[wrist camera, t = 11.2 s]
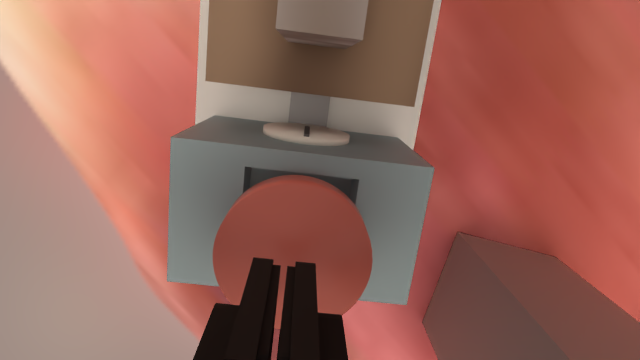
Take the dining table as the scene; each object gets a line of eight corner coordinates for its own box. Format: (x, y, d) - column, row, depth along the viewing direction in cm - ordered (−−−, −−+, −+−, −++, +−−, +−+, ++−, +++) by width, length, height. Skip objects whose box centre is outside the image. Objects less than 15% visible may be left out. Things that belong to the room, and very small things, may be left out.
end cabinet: (398, 130, 22) (436, 157, 15) (379, 237, 24) (406, 305, 17) (214, 107, 22) (171, 126, 15) (208, 219, 23) (166, 281, 17)
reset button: (371, 170, 16) (384, 194, 13) (351, 290, 17) (360, 337, 14) (234, 155, 15) (217, 175, 12) (226, 278, 17) (208, 322, 14)
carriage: (426, -53, 19) (525, -156, 10) (399, 101, 21) (464, 126, 12) (229, -81, 18) (155, -215, 10) (220, 78, 20) (151, 88, 11)
